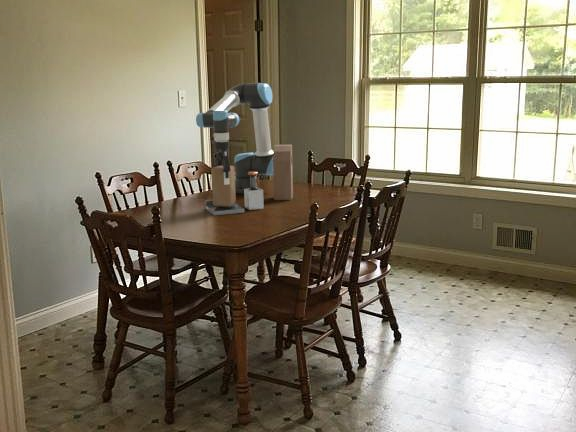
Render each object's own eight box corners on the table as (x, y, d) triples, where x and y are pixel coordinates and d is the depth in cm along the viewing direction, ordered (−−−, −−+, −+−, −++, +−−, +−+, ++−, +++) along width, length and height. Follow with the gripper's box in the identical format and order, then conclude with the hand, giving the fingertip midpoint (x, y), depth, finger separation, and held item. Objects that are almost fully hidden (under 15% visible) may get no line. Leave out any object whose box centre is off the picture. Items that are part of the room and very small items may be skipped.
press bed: (205, 208, 336) (205, 200, 335) (235, 206, 341) (234, 198, 340) (213, 215, 319) (213, 206, 318) (244, 212, 325) (244, 204, 324)
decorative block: (293, 196, 364) (291, 144, 358) (291, 200, 354) (290, 146, 348) (276, 196, 365) (274, 144, 359) (273, 200, 355) (272, 146, 349)
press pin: (247, 192, 335) (247, 171, 333) (256, 191, 337) (256, 171, 335) (250, 194, 331) (249, 173, 328) (259, 193, 332) (259, 172, 330)
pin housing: (244, 207, 338) (244, 188, 336) (259, 205, 341) (258, 187, 338) (249, 210, 330) (248, 191, 328) (263, 208, 333) (263, 189, 331)
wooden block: (231, 207, 324) (229, 168, 320) (212, 206, 326) (210, 168, 321) (236, 203, 334) (234, 165, 329) (217, 202, 335) (216, 165, 331)
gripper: (208, 139, 333) (210, 179, 337) (220, 143, 310) (222, 186, 314) (222, 138, 335) (224, 178, 340) (235, 142, 312) (237, 185, 317)
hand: (223, 182), depth 327 cm, fingers closed on wooden block, 13 cm apart
